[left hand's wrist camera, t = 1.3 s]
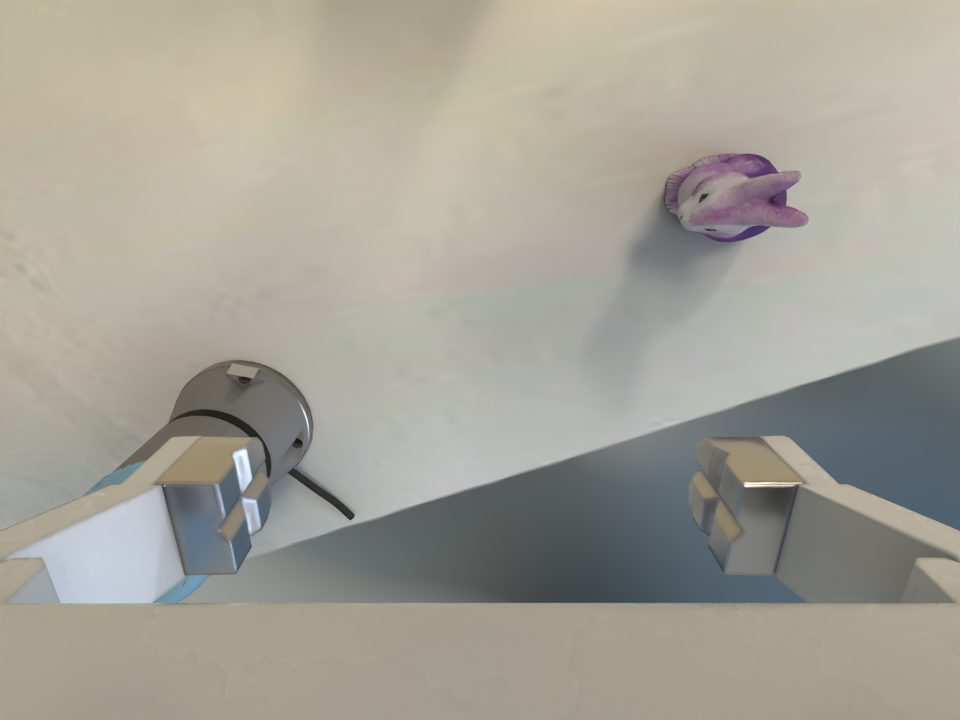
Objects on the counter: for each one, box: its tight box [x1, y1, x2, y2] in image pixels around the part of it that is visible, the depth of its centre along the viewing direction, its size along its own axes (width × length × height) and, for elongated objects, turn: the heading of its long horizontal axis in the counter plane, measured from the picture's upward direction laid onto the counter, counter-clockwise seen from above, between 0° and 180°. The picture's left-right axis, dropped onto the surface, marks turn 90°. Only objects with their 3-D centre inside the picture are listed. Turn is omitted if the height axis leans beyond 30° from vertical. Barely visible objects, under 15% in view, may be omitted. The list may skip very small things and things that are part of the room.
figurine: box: [665, 154, 808, 242], centre depth 47 cm, size 9×10×15 cm
